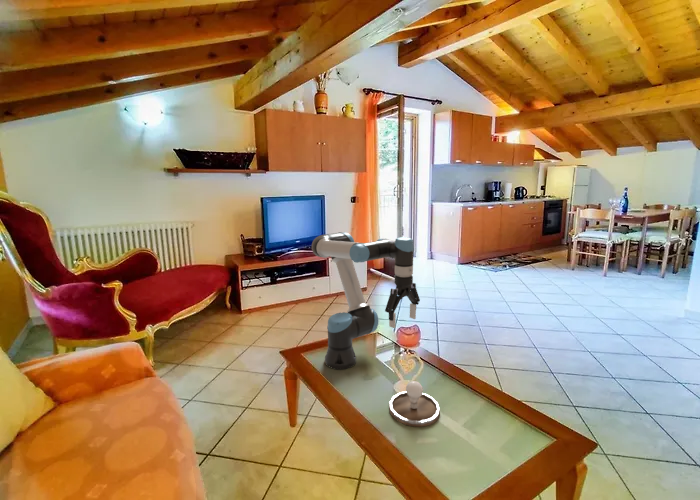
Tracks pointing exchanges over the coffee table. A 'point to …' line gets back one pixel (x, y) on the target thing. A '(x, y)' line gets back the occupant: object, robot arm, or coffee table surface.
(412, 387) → the lightbulb
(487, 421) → the coffee table surface
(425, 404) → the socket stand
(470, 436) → the coffee table surface
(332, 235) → the robot arm
